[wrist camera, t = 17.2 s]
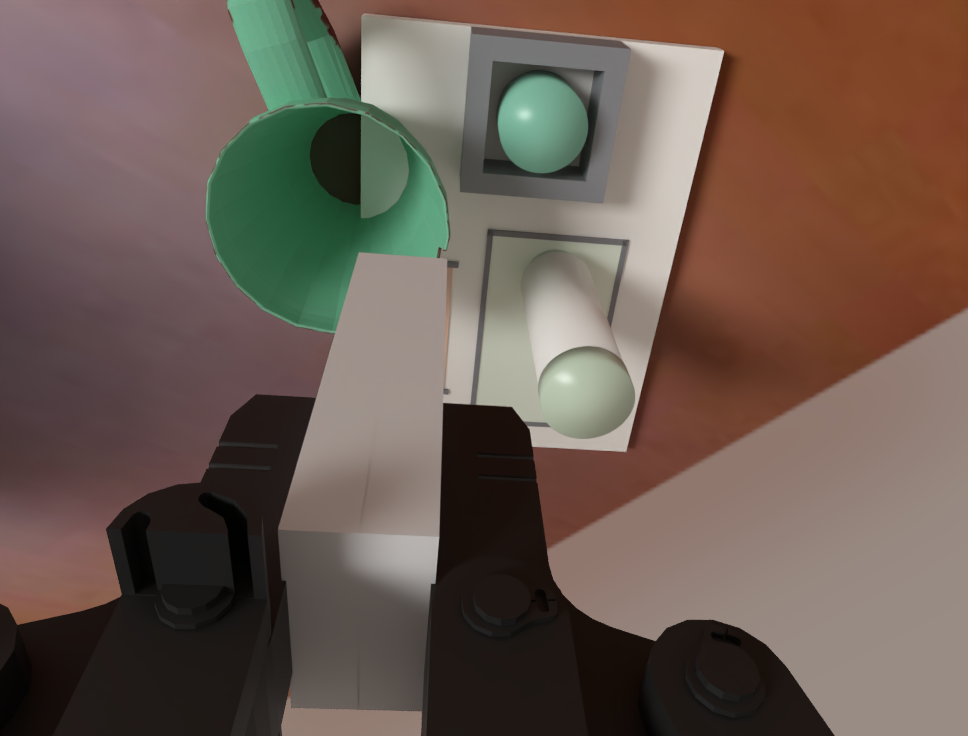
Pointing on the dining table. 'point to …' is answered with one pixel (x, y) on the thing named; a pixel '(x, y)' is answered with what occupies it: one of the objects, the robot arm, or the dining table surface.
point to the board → (538, 186)
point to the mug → (306, 175)
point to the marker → (574, 349)
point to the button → (541, 122)
